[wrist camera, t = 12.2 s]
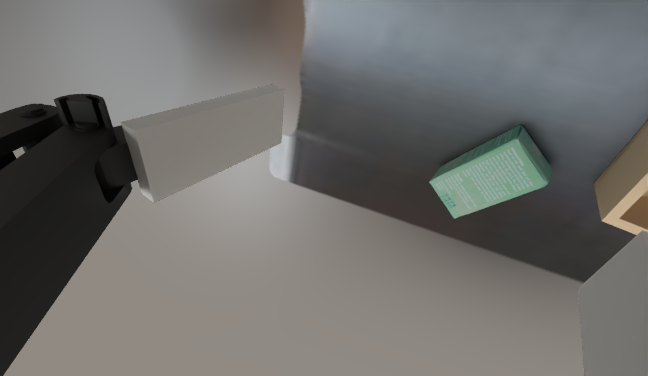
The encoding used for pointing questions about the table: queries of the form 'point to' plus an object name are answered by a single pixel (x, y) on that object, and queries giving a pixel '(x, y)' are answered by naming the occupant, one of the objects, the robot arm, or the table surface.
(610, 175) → the carton
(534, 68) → the table surface
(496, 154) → the box
